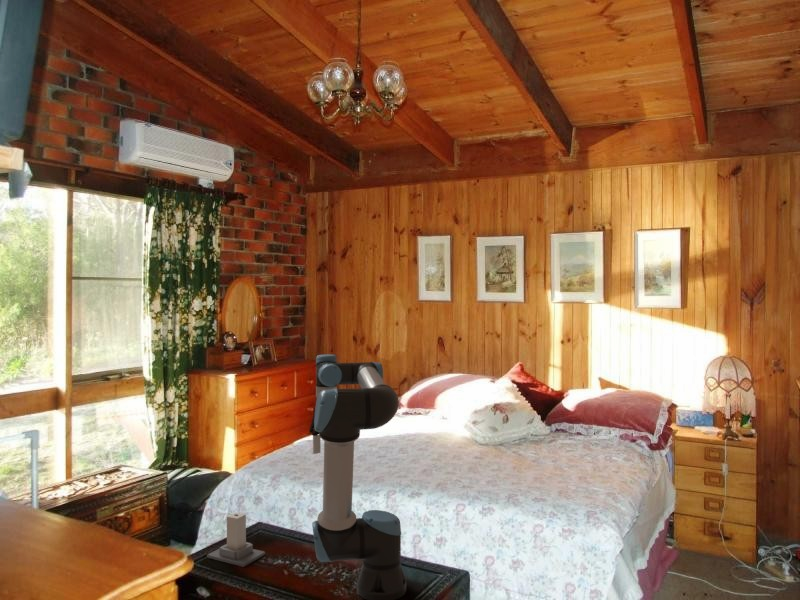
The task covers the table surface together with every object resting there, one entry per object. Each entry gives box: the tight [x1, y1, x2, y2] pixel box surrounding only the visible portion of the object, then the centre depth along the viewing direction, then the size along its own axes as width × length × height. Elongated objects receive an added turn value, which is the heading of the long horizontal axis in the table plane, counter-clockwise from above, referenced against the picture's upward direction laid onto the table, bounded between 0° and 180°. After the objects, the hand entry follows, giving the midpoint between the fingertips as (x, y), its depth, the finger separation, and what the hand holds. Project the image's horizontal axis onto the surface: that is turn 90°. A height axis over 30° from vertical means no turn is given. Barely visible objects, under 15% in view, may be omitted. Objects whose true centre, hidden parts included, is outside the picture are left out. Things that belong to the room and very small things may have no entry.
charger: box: [226, 511, 247, 551], centre depth 218 cm, size 4×4×13 cm
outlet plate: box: [206, 541, 266, 568], centre depth 218 cm, size 16×11×4 cm
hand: (326, 457), depth 229 cm, fingers open, 13 cm apart
